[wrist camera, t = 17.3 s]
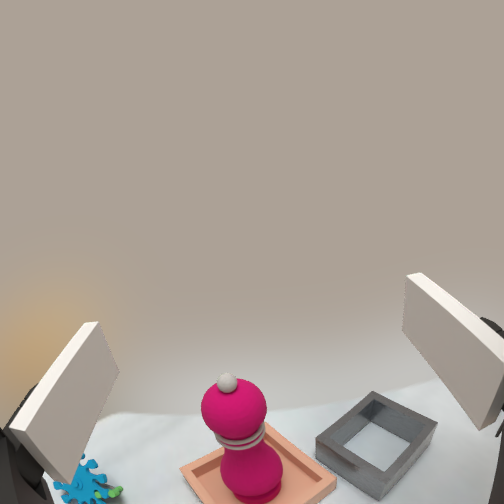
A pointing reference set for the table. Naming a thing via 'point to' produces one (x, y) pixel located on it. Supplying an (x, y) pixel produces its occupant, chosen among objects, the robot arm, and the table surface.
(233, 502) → the terracotta tray
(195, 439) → the table surface
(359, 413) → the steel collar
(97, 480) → the blue bumpy piece
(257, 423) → the pepper mill
